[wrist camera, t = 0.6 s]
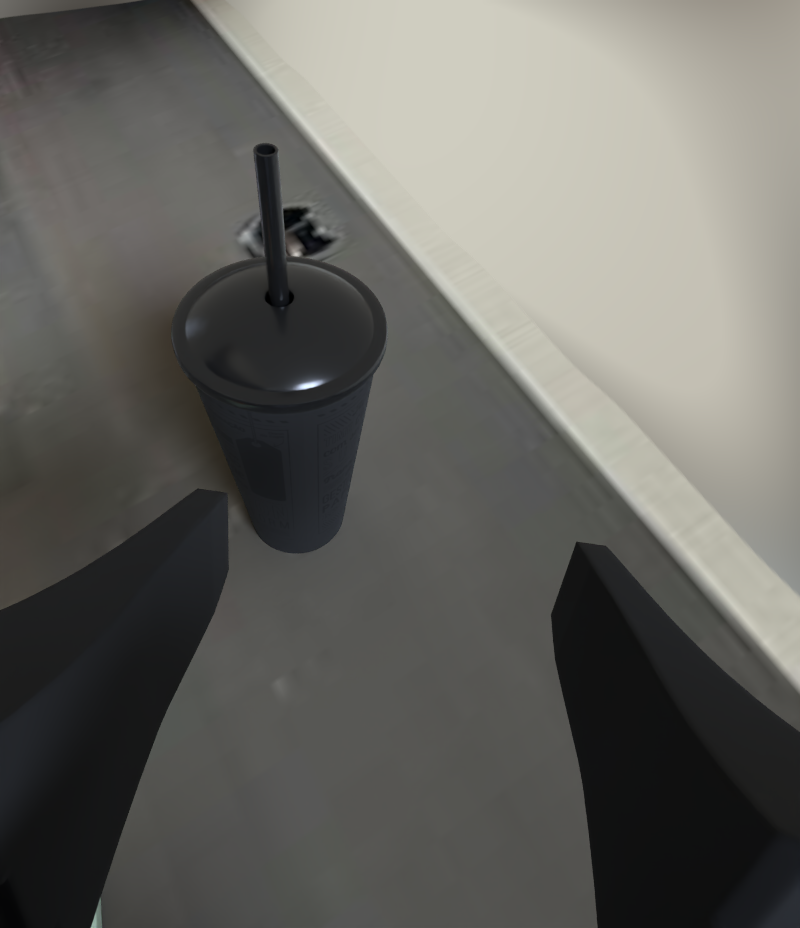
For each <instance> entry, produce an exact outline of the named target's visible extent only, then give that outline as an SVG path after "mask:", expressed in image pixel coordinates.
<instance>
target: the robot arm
mask: <svg viewBox="0 0 800 928" xmlns="http://www.w3.org/2000/svg"><path fill="white" fill-rule="evenodd" d="M228 570H229V565H228V497H227V493H225V492H218V491H211V490H204V489H197V490H195V491H194V492H192V493H191V494H190V495H188V496H187V497H185V498H184V499H183V500H181V501H180V502H179V503H177V504H176V505H174V506H173V507H172V508H170V509H169V510H168V511H166V512H165V513H164V514H162V515H161V516H160V517H158V518H157V519H156V520H154V521H153V522H152V523H150V524H149V525H147V526H146V527H145V528H143V529H142V530H140V531H139V532H137V533H136V534H135V535H133V536H132V537H130V538H129V539H128V540H126V541H125V542H123V543H122V544H120V545H119V546H117V547H116V548H114V549H113V550H111V551H109V552H108V553H106V554H105V555H103V556H102V557H100V558H98V559H97V560H95V561H94V562H92V563H91V564H89V565H87V566H86V567H84V568H83V569H81V570H79V571H77V572H76V573H74V574H72V575H70V576H69V577H67V578H65V579H63V580H61V581H60V582H58V583H56V584H54V585H52V586H50V587H48V588H46V589H44V590H42V591H41V592H39V593H37V594H35V595H33V596H31V597H29V598H27V599H25V600H22V601H20V602H18V603H16V604H13V605H11V606H9V607H7V608H5V609H2V610H0V928H91V926H92V923H93V920H94V916H95V913H96V910H97V907H98V903H99V900H100V897H101V894H102V890H103V887H104V884H105V881H106V878H107V875H108V872H109V869H110V866H111V863H112V860H113V857H114V854H115V851H116V848H117V845H118V842H119V839H120V836H121V833H122V830H123V827H124V824H125V821H126V818H127V815H128V813H129V810H130V807H131V804H132V801H133V798H134V795H135V793H136V790H137V787H138V784H139V781H140V778H141V776H142V773H143V770H144V767H145V765H146V762H147V759H148V757H149V754H150V751H151V749H152V746H153V743H154V740H155V738H156V735H157V732H158V730H159V727H160V725H161V723H162V720H163V718H164V716H165V713H166V711H167V709H168V707H169V704H170V702H171V700H172V698H173V696H174V694H175V692H176V690H177V688H178V686H179V684H180V682H181V680H182V678H183V676H184V674H185V672H186V670H187V668H188V666H189V664H190V662H191V660H192V658H193V656H194V654H195V652H196V650H197V648H198V646H199V643H200V641H201V639H202V637H203V635H204V633H205V631H206V629H207V627H208V625H209V623H210V621H211V619H212V616H213V614H214V612H215V609H216V606H217V603H218V600H219V598H220V595H221V592H222V589H223V586H224V583H225V579H226V576H227V573H228ZM551 619H552V632H553V643H554V653H555V661H556V666H557V670H558V675H559V679H560V684H561V688H562V693H563V697H564V701H565V706H566V710H567V714H568V718H569V723H570V727H571V731H572V736H573V740H574V744H575V749H576V753H577V757H578V762H579V767H580V772H581V778H582V783H583V790H584V798H585V806H586V814H587V822H588V830H589V839H590V849H591V858H592V868H593V877H594V887H595V899H596V911H597V924H598V928H800V732H799V731H797V730H796V729H795V728H793V727H792V726H791V725H789V724H788V723H787V722H785V721H784V720H783V719H781V718H780V717H779V716H777V715H776V714H775V713H773V712H772V711H771V710H770V709H768V708H767V707H766V706H765V705H763V704H762V703H761V702H760V701H758V700H757V699H756V698H755V697H753V696H752V695H751V694H750V693H749V692H748V691H747V690H745V689H744V688H743V687H742V686H741V685H740V684H738V683H737V682H736V681H735V680H734V679H733V678H731V677H730V676H729V675H728V674H727V673H726V672H724V671H723V670H722V669H721V668H720V667H719V666H718V665H717V664H716V663H715V662H714V661H713V660H711V659H710V658H709V657H708V656H707V655H706V654H705V653H704V652H703V651H702V650H701V649H700V648H699V647H698V646H697V645H696V644H695V643H694V642H693V641H692V640H691V639H690V638H689V637H688V636H687V635H686V634H685V633H684V632H683V631H682V630H681V629H680V628H679V627H678V626H677V625H676V624H675V622H674V621H673V620H672V619H671V618H670V617H669V616H668V615H667V614H666V613H665V612H664V611H663V610H662V608H661V607H660V606H659V605H658V604H657V603H656V602H655V601H654V600H653V598H652V597H651V596H650V595H649V594H648V593H647V592H646V591H645V589H644V588H643V587H642V586H641V585H640V584H639V583H638V581H637V580H636V579H635V578H634V577H633V576H632V574H631V573H630V572H629V571H628V570H627V569H626V568H625V566H624V565H623V564H622V563H621V562H620V561H619V560H618V558H617V557H616V556H615V555H614V554H613V553H612V552H611V551H610V550H609V549H608V548H607V547H606V546H603V545H596V544H589V543H581V542H576V545H575V548H574V551H573V554H572V556H571V559H570V562H569V565H568V568H567V571H566V574H565V576H564V579H563V582H562V585H561V588H560V591H559V594H558V596H557V599H556V602H555V605H554V608H553V611H552V613H551Z"/></svg>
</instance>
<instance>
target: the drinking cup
mask: <svg viewBox="0 0 800 928" xmlns="http://www.w3.org/2000/svg"><path fill="white" fill-rule="evenodd" d="M253 151H254V161H255V170H256V179H257V188H258V197H259V207H260V216H261V225H262V234H263V244H264V253H265V257H258V258H253V259H248V260H244V261H240V262H237V263H233V264H230V265H228V266H225V267H223V268H221V269H219V270H217V271H215V272H213V273H211V274H209V275H208V276H206V277H205V278H203V279H202V280H200V281H199V282H198V283H197V284H196V285H194V286H193V287H192V288H191V289H190V290H189V291H188V292H187V294H186V295H185V296H184V297H183V299H182V300H181V302H180V304H179V305H178V308H177V310H176V312H175V315H174V318H173V322H172V328H171V338H172V345H173V349H174V352H175V356H176V358H177V361H178V363H179V365H180V367H181V368H182V370H183V372H184V373H185V374H186V376H187V377H188V378H189V379H190V380H191V381H192V382H193V383H194V384H195V385H196V387H197V390H198V392H199V395H200V397H201V399H202V402H203V404H204V407H205V409H206V411H207V414H208V416H209V419H210V421H211V424H212V426H213V428H214V431H215V433H216V436H217V438H218V440H219V443H220V445H221V448H222V450H223V453H224V455H225V457H226V460H227V462H228V465H229V467H230V469H231V472H232V474H233V477H234V479H235V481H236V484H237V486H238V489H239V491H240V494H241V496H242V498H243V501H244V503H245V506H246V508H247V510H248V513H249V515H250V518H251V520H252V522H253V525H254V527H255V530H256V532H257V533H258V535H259V536H260V538H261V539H262V540H263V541H264V542H265V543H267V544H268V545H269V546H271V547H273V548H275V549H277V550H280V551H283V552H288V553H305V552H309V551H313V550H316V549H318V548H320V547H322V546H323V545H325V544H326V543H328V542H329V541H330V540H331V539H332V538H333V537H334V536H335V535H336V533H337V532H338V530H339V528H340V526H341V524H342V520H343V516H344V511H345V506H346V501H347V497H348V492H349V487H350V482H351V478H352V473H353V468H354V463H355V459H356V454H357V449H358V445H359V440H360V435H361V430H362V426H363V421H364V416H365V411H366V407H367V402H368V397H369V392H370V388H371V383H372V378H373V374H374V373H375V371H376V370H377V368H378V367H379V365H380V363H381V361H382V359H383V357H384V353H385V350H386V345H387V337H388V327H387V320H386V316H385V313H384V311H383V308H382V306H381V304H380V302H379V301H378V299H377V298H376V296H375V295H374V293H373V292H372V291H371V290H370V289H369V288H368V287H367V286H366V285H365V284H364V283H363V282H361V281H360V280H359V279H358V278H356V277H355V276H353V275H352V274H350V273H348V272H346V271H344V270H343V269H341V268H338V267H336V266H334V265H331V264H328V263H325V262H322V261H318V260H314V259H309V258H303V257H294V256H286V246H285V233H284V220H283V206H282V193H281V180H280V166H279V153H278V148H277V147H276V146H275V145H272V144H269V143H262V144H258V145H256V146H255V147H254V149H253Z"/></svg>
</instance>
